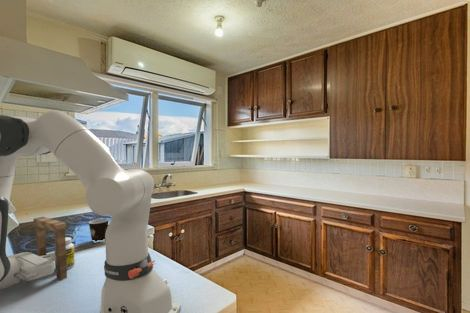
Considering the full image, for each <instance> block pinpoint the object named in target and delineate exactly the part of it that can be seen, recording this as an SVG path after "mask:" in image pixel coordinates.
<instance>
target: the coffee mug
mask: <svg viewBox="0 0 470 313" xmlns="http://www.w3.org/2000/svg"><path fill="white" fill-rule="evenodd" d="M88 226H89V231H90V232H89V233H90V236H91V237H90V238H91V241H92V240H95V241H97V240H103V239H105V233H106V230H107V228H108V226H109V219H108V218H98V219H93V220H90V221H89V222H88Z"/></svg>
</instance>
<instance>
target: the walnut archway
mask: <svg viewBox="0 0 470 313" xmlns="http://www.w3.org/2000/svg"><path fill="white" fill-rule="evenodd" d="M33 226H35V227H34V228H35V248H36V255H38V256H44V255H47V239H46V234H47V233H46V230H49V231H52V232H54V254H55V255H56V269H55V273H56V279H57V280H60V281H62V280H65V279H68V272H67V271H68V269H67V266H66V243H65V238H66V231H67V222H64V221H60V220H55V219H53V218H48V217H44V216H41V217H36V218H35V217H34V218H33Z"/></svg>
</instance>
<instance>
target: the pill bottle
mask: <svg viewBox="0 0 470 313" xmlns="http://www.w3.org/2000/svg"><path fill="white" fill-rule="evenodd" d="M65 243H66V266H67V270H70V269H72V268H73V267H74V266H75V245H74V243H72V237H69V236H65ZM54 270H56V260H55V261H54Z"/></svg>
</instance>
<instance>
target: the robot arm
mask: <svg viewBox="0 0 470 313" xmlns="http://www.w3.org/2000/svg"><path fill="white" fill-rule="evenodd" d="M51 153H52V154H53V155H54V156H55V158H57V159H58V160H59V161H60V162H61V163H62V164H64V165H65V166H66V168H68V169H69V170H70V171H71V172H72V173H73V174H75V176H76V178H78V180H79V181H80V182H81V184H82V187H84V190H85V191H86V192H85V200H86V204H87V206H88V208H89V209H90V210H91V211H92V212H93V214H94V213H95V214H96V215H99V216H102V217H110V221H109V222H108V225H109V226H108V228H107V230H106V233H105V242H104V243H105V260H104V265H103V267H104V268H103V270H104V277H105V279H104V280H105V281H104V282H103V285H102V288H101V293H100V308H99V309H100V312H99V313H180V312H181V308H182V306H181V303H180V302H179V301H177V300H176V299H174V298H172V292H171V288H170V286H169V285H168V281H167V278H162V277H161V276H160V275H159V274H158V272H157V271H156V270H155V269H154V265H155V264H156V263H155V261H156V260H154V259H153V260H152V257H151V255H150V253H149V244H148V243H149V241H148V240H149V238H148V237H149V236H148V232H149V231H148V227H149V226H148V225H149V218H150V211H151V203H152V195H153V192H154V188H155V180H154V178H153V176H152V175H151V174H150V173H149V172H148V171H146V170H142V169H139V168H129V169H124V168H123V167H121V166H120V165H119V164H118V162H117V161H116V160H115V158H114V156H112V150H111V149H110V147H109V146H108V145H106V143H104V141H102V140H101V139H100V138H99V137H98V136H96V135H95V134H94V133H93V132H92V131H91V130H90V129H89V128H87V127H86V125H84V124H82V123H81V122H80V121H78V120H77V119H75V118H74V117H72V116H71V115H69V114H67V113H66V112H64V111H60V110H50V111H45V112H44V113H42V114H41V115H40V116H38V117H37V118H32V117H27V116H19V115H18V116H15V115H13V116H12V115H5V114H2V115H1V114H0V291H1V290H3V289H7V288H9V287H12V286H14V285H15V286H16V285H17V284H19V283H20V281H21V280H25V281H28V282H29V281H34V280H38V279H40V278H44V277H46V276H48V275H51V274H53V273H54V272H55V260H56V255H55V253H51V254H46V255H44V256H38V255H37V254H35V253H33V252H31V251H25V252H20V253H15V254H13V255H9V256H8V255H7V252H6V251H7V250H6V247H7V246H6V245H7V236H8V235H7V234H8V225H9V211H10V210H9V209H10V201H11V194H12V190H13V183H14V179H15V171H16V164H17V161H18V160H19V158H21V157H30V156H37V155H47V154H51Z"/></svg>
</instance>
